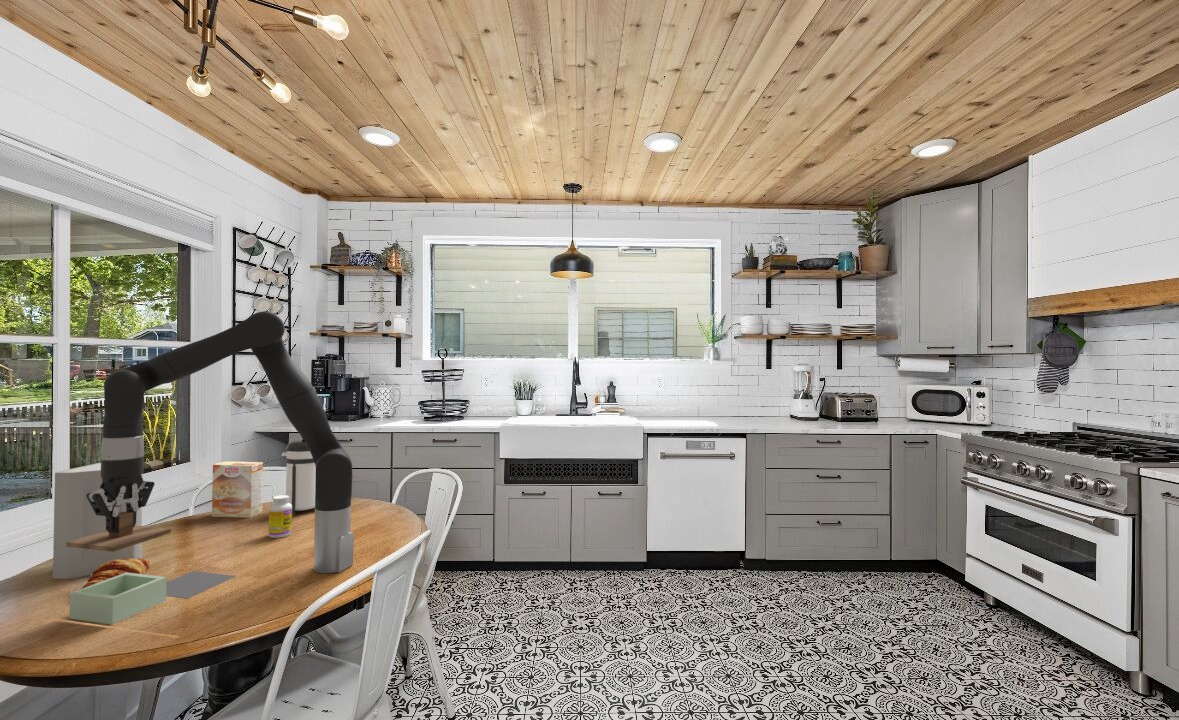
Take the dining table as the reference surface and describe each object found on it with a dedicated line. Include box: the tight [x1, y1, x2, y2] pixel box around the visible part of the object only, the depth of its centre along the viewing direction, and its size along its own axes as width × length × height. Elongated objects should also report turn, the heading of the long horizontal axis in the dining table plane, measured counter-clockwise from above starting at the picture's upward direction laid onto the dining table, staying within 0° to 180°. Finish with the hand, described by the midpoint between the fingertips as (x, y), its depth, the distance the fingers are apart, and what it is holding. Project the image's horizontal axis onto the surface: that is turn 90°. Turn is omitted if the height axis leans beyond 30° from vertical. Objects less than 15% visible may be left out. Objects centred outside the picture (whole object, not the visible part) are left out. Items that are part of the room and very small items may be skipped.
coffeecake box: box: [211, 460, 264, 519], centre depth 199 cm, size 15×7×20 cm, turn 88°
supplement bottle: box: [268, 494, 293, 539], centre depth 177 cm, size 7×7×13 cm
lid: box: [66, 512, 172, 552], centre depth 123 cm, size 13×13×6 cm
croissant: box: [81, 557, 152, 589], centre depth 138 cm, size 21×10×8 cm, turn 6°
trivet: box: [166, 570, 237, 600], centre depth 137 cm, size 14×14×1 cm
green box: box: [69, 572, 167, 627], centre depth 123 cm, size 12×12×6 cm
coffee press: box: [281, 435, 316, 517], centre depth 207 cm, size 17×16×30 cm
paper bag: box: [52, 462, 144, 580], centre depth 150 cm, size 19×15×28 cm
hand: (121, 529), depth 123 cm, fingers closed on lid, 3 cm apart
